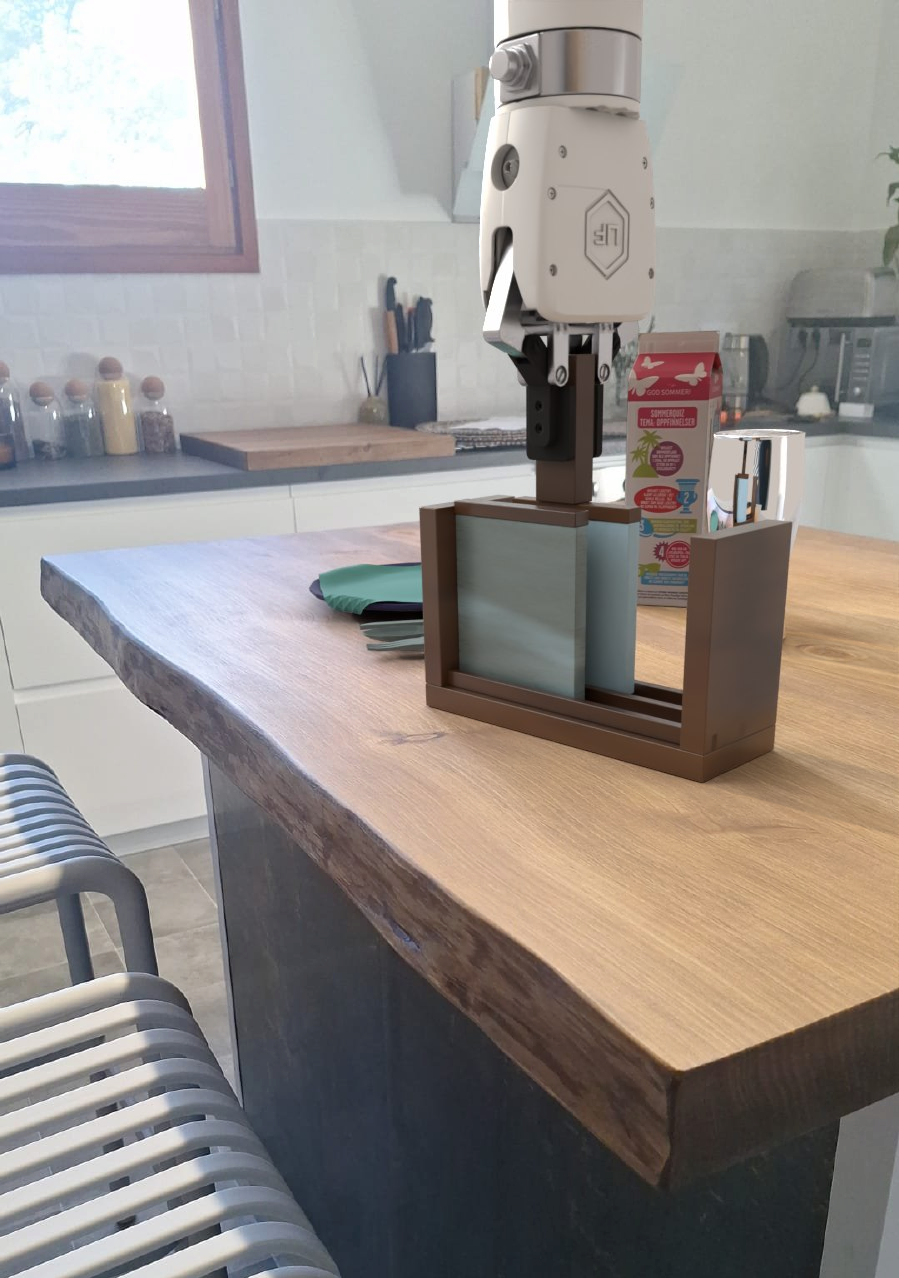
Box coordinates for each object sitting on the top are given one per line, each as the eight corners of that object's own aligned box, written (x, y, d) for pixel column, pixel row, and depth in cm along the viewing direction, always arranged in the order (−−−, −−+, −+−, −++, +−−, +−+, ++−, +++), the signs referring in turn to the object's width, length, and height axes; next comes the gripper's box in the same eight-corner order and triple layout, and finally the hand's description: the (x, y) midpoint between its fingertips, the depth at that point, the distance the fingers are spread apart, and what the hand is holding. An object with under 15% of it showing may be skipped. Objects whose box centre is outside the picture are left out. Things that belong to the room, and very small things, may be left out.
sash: (527, 667, 74) (526, 355, 67) (637, 692, 68) (649, 352, 61) (510, 672, 73) (508, 356, 66) (621, 697, 67) (631, 353, 60)
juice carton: (638, 589, 106) (646, 333, 97) (710, 592, 103) (725, 330, 95) (621, 603, 100) (629, 333, 92) (697, 607, 98) (712, 330, 89)
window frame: (500, 682, 78) (498, 489, 73) (774, 749, 63) (793, 515, 59) (425, 705, 73) (418, 501, 68) (702, 783, 59) (716, 532, 54)
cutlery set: (507, 576, 113) (507, 553, 112) (584, 648, 86) (585, 618, 85) (307, 587, 111) (305, 563, 110) (319, 665, 83) (317, 634, 82)
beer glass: (679, 637, 88) (689, 434, 82) (733, 621, 92) (746, 427, 87) (756, 652, 83) (772, 437, 78) (809, 635, 87) (828, 430, 82)
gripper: (518, 53, 51) (520, 475, 58) (715, 95, 61) (697, 450, 68) (406, 83, 56) (420, 467, 63) (605, 117, 67) (599, 445, 73)
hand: (564, 456), depth 66 cm, fingers closed on sash
